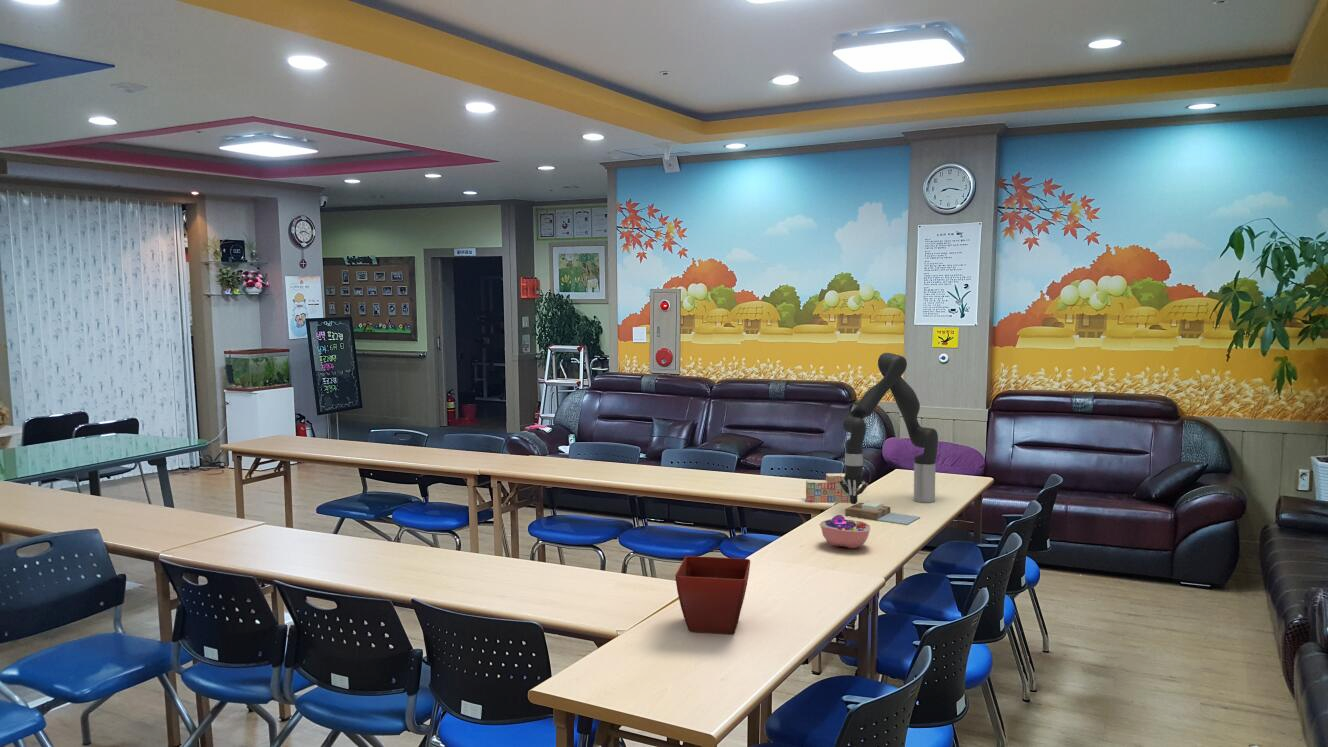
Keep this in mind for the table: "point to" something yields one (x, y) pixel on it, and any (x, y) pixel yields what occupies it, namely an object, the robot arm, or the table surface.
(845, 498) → the stack of blocks
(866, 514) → the block
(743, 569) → the plant pot
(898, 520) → the mat
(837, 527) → the cell model
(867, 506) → the tile
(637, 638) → the table surface
